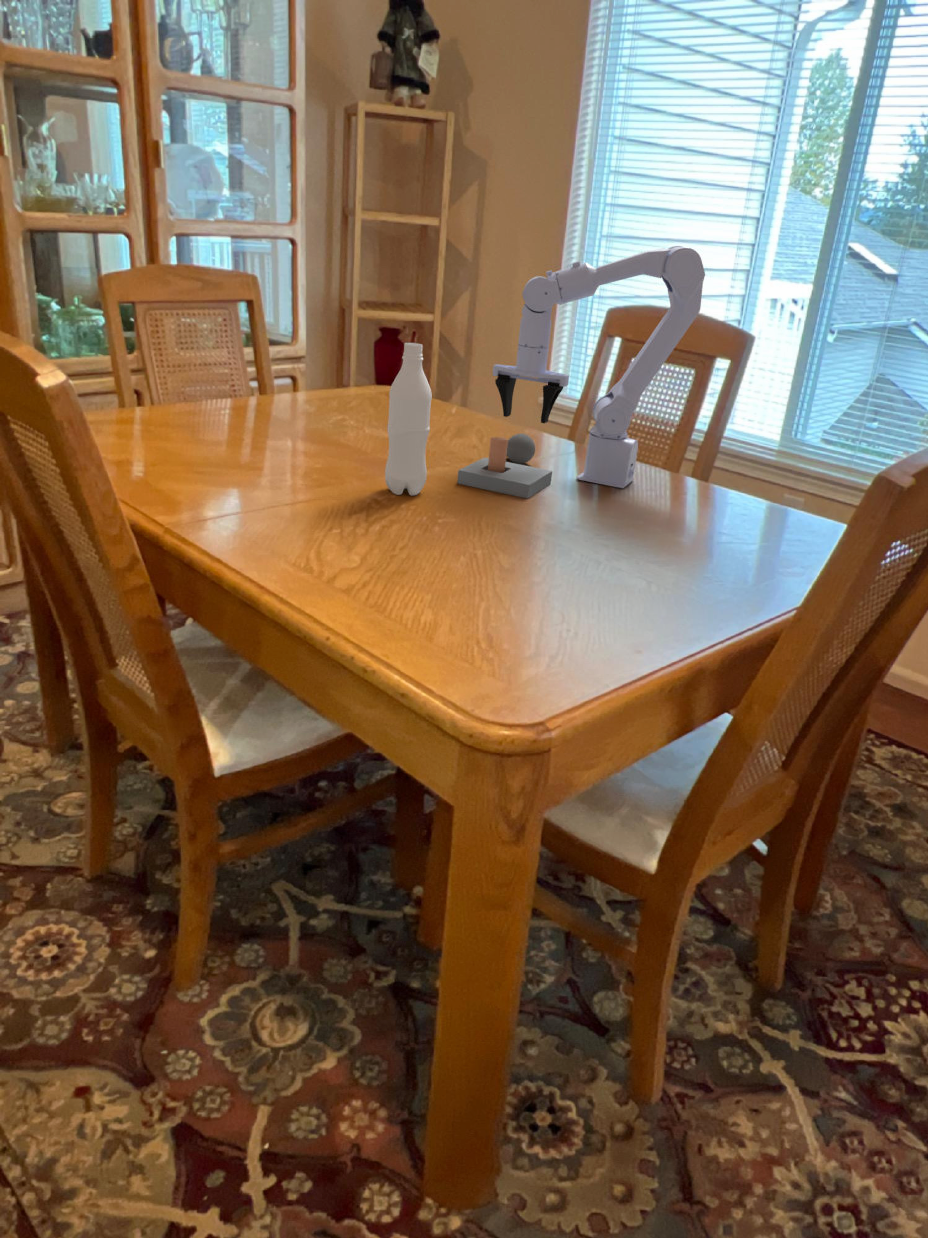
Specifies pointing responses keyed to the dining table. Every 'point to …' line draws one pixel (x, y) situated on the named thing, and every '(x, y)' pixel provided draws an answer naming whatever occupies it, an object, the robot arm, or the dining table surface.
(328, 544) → the dining table surface
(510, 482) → the socket board
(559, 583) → the dining table surface
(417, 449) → the water bottle
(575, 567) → the dining table surface
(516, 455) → the light bulb
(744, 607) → the dining table surface
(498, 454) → the peg
